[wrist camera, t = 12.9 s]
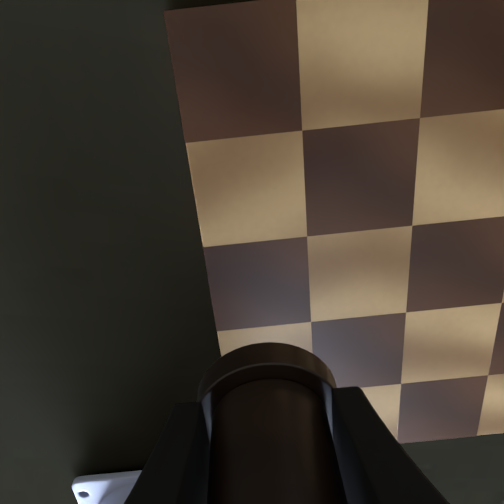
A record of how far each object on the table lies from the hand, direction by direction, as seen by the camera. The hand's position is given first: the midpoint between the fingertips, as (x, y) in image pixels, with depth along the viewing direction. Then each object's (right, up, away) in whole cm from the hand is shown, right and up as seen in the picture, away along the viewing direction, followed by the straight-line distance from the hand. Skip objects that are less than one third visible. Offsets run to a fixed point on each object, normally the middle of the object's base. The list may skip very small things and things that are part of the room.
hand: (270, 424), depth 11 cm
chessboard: (+6, +4, +8) cm, 11 cm away
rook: (0, 0, +1) cm, 1 cm away
